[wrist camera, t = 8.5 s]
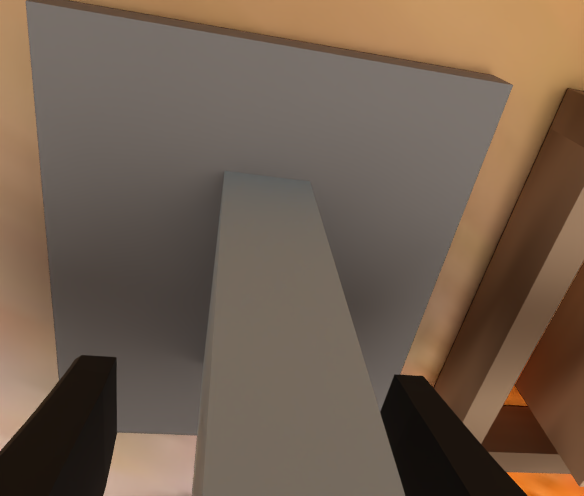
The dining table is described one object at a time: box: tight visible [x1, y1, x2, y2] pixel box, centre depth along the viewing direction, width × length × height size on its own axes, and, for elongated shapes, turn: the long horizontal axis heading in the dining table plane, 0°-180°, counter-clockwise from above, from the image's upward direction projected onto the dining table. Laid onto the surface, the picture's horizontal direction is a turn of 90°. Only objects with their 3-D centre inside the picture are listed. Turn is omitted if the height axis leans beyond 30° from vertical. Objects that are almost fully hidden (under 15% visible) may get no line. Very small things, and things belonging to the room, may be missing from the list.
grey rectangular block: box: [192, 171, 405, 496], centre depth 9 cm, size 6×2×8 cm, turn 170°
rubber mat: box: [26, 0, 513, 435], centre depth 13 cm, size 12×10×1 cm
